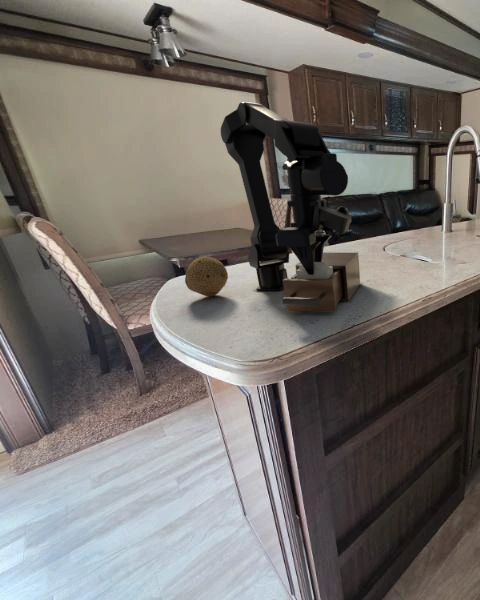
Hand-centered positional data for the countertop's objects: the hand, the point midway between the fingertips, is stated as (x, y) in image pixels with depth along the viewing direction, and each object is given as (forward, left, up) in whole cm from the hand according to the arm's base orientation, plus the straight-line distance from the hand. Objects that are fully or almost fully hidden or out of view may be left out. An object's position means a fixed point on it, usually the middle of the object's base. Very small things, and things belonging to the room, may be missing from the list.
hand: (314, 271), depth 67 cm
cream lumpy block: (0, 0, -1) cm, 1 cm away
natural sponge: (-29, +6, -8) cm, 31 cm away
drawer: (0, -1, -7) cm, 7 cm away
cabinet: (0, +11, -8) cm, 14 cm away
